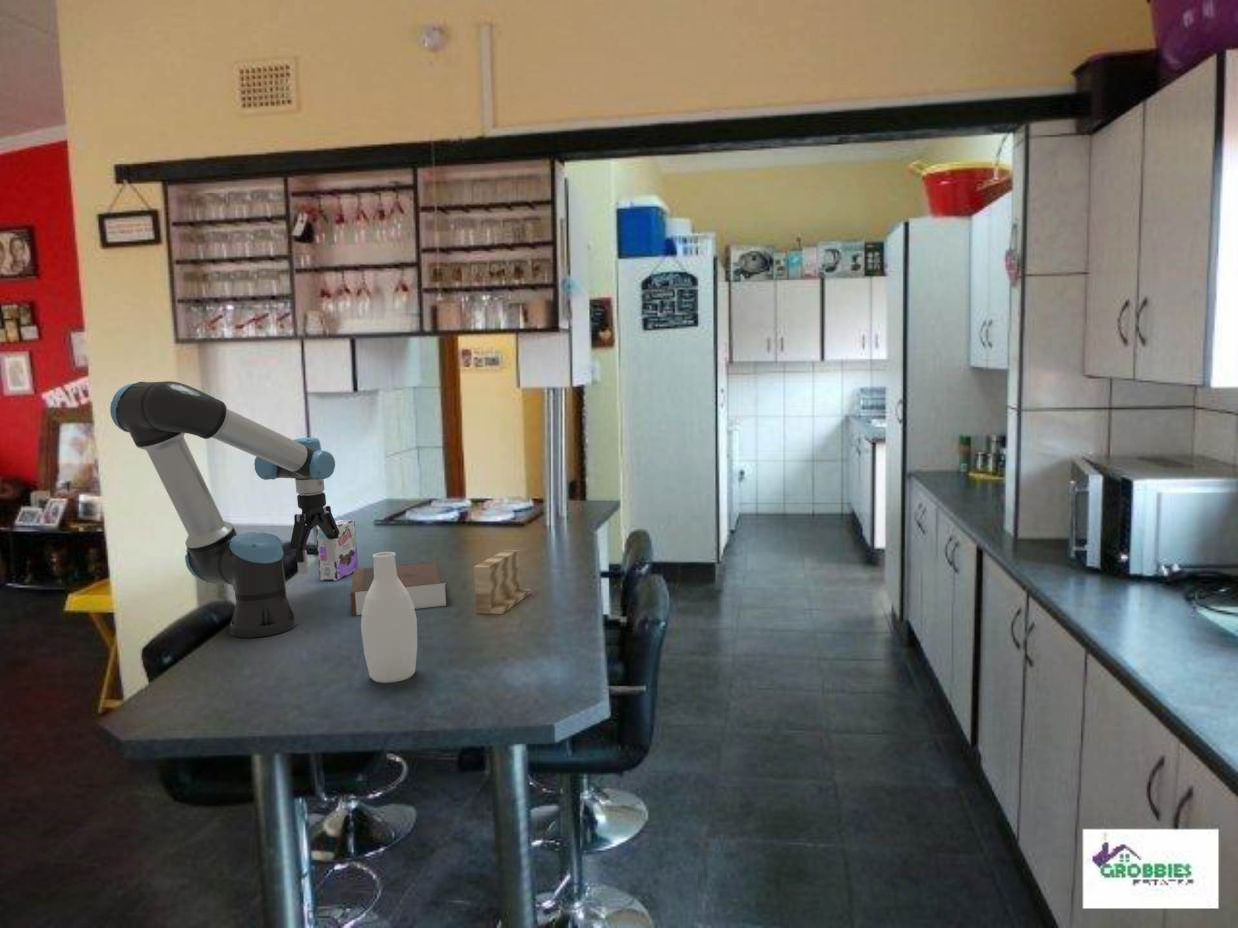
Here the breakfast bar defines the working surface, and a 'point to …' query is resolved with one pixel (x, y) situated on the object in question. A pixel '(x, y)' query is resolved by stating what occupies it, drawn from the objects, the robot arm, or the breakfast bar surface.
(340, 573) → the candy box
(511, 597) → the bookend
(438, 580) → the book
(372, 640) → the bottle
